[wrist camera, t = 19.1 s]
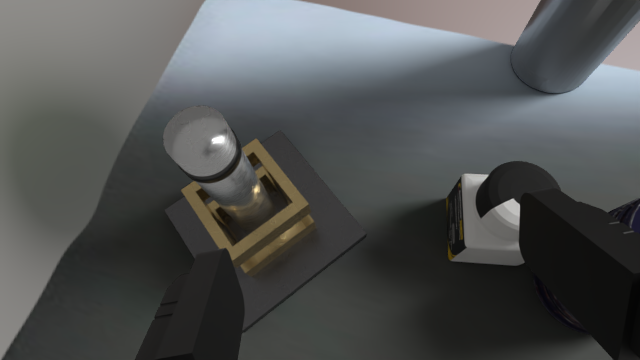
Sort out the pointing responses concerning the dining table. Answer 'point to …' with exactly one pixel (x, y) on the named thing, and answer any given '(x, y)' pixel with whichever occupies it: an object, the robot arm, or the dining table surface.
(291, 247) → the collar stand
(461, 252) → the medicine bottle
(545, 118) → the dining table surface
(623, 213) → the storage jar
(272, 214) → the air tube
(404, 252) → the dining table surface
